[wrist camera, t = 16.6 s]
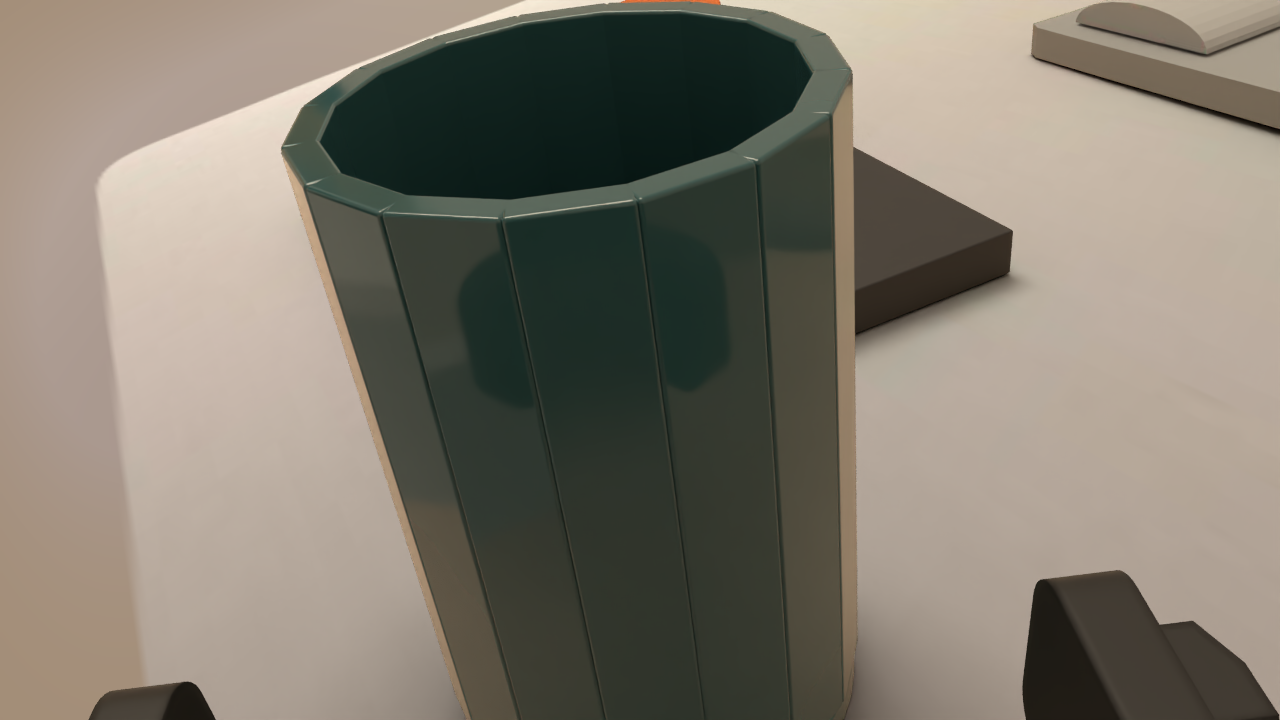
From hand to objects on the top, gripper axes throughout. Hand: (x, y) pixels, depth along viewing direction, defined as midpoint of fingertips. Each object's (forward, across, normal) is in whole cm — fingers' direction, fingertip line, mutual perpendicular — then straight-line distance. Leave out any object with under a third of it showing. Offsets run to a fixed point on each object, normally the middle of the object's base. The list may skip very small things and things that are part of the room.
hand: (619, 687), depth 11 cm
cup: (+5, 0, +6) cm, 8 cm away
